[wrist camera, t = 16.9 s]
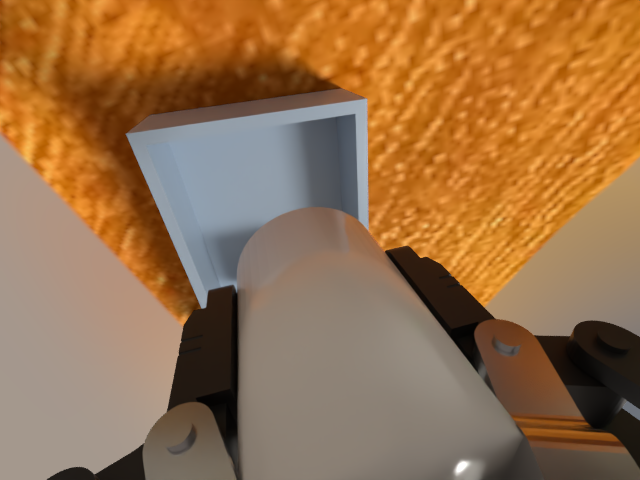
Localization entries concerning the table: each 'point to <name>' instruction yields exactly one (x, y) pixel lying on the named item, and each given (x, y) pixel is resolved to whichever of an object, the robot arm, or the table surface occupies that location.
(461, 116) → the table surface
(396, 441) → the white rounded cylinder
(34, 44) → the table surface
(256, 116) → the tote
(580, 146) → the table surface
